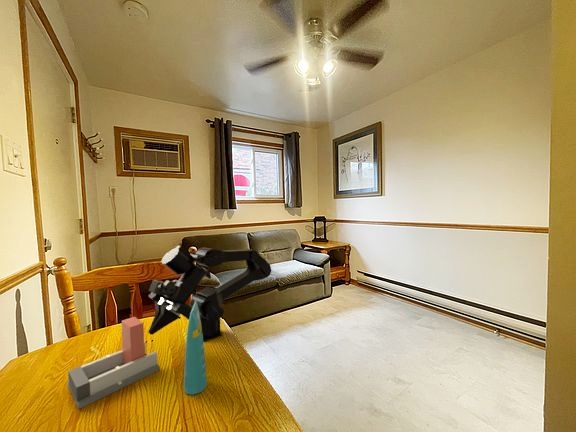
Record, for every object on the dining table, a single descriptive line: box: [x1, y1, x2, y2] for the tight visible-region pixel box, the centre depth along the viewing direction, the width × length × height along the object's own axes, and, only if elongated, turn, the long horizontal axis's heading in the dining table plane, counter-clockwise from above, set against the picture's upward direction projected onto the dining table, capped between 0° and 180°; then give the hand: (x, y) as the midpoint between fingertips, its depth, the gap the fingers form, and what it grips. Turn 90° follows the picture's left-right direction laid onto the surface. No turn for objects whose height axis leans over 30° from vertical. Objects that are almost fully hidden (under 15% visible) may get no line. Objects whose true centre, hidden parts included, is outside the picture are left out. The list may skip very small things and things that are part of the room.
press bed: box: [67, 341, 160, 410], centre depth 60 cm, size 16×11×4 cm
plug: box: [121, 316, 145, 364], centre depth 63 cm, size 3×6×11 cm, turn 50°
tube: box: [183, 300, 208, 396], centre depth 56 cm, size 7×5×19 cm, turn 20°
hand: (150, 333), depth 66 cm, fingers closed
